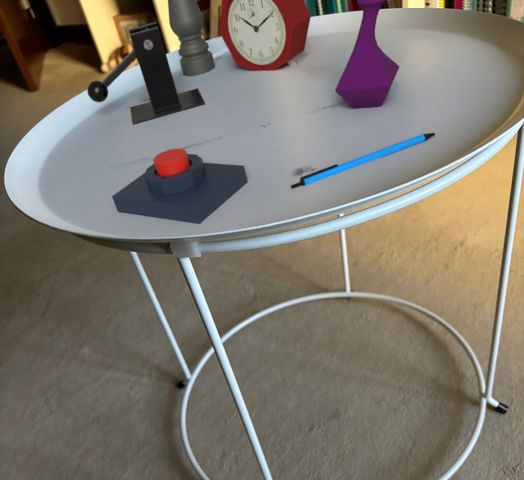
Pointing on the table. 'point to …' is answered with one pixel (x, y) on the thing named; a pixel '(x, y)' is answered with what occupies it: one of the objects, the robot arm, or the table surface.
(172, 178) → the button box
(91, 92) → the lever
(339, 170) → the pen
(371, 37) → the purple vase
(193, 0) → the candle holder
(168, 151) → the button
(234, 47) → the alarm clock
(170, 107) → the bracket
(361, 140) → the table surface
